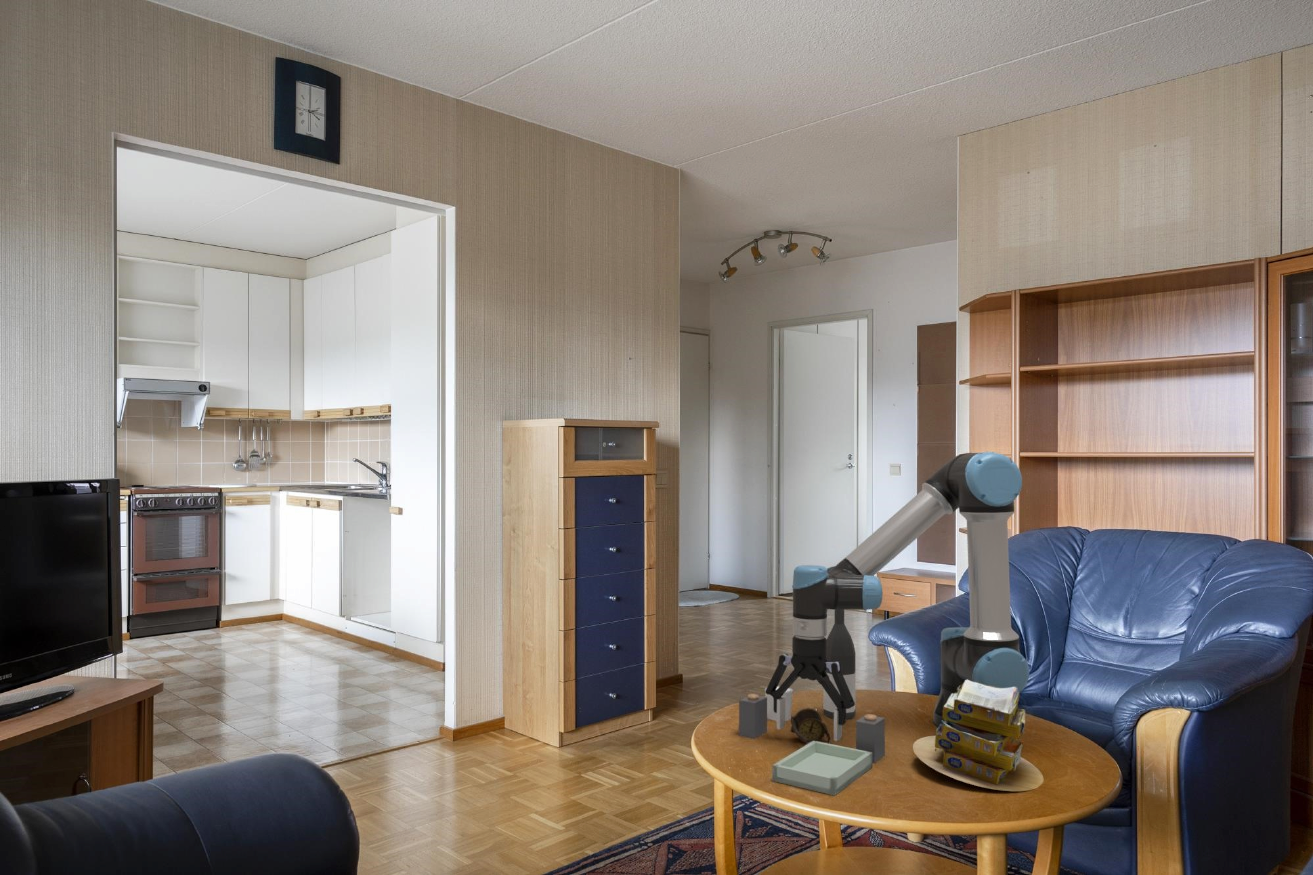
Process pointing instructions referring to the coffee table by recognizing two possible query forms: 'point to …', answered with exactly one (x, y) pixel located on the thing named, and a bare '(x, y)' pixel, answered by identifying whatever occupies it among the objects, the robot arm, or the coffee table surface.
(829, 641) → the wine bottle
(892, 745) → the coffee table surface
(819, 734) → the brown alarm clock
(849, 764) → the sage tray
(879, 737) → the block
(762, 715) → the far-side block
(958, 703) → the plate of stacked boxes
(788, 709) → the light grey cylinder
